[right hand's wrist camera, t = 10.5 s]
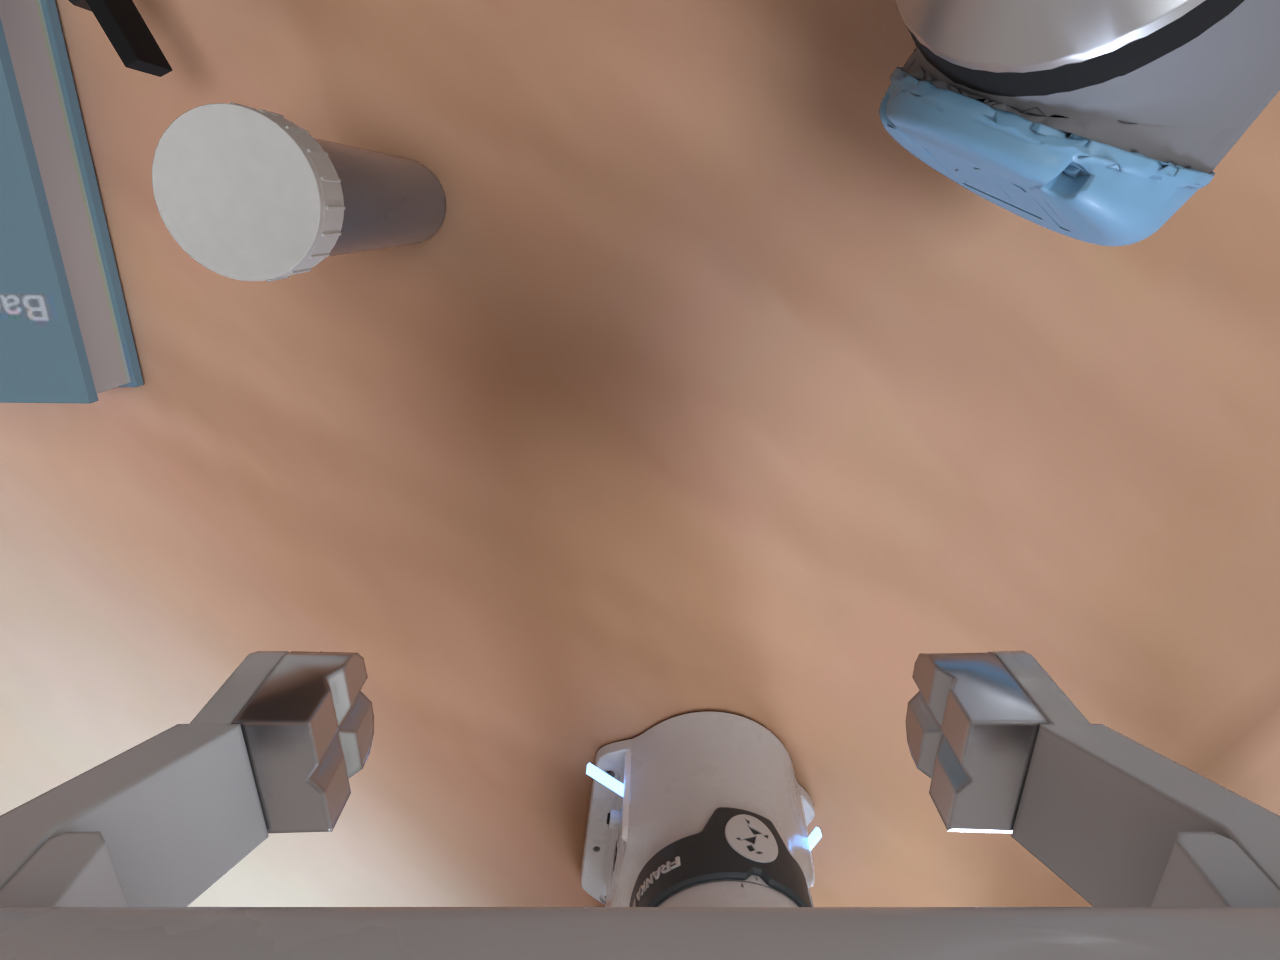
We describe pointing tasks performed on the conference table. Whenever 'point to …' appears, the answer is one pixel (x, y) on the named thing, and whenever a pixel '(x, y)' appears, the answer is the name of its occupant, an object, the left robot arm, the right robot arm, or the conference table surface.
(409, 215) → the dark grey cylinder
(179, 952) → the right robot arm
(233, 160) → the lid
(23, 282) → the book
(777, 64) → the conference table surface
